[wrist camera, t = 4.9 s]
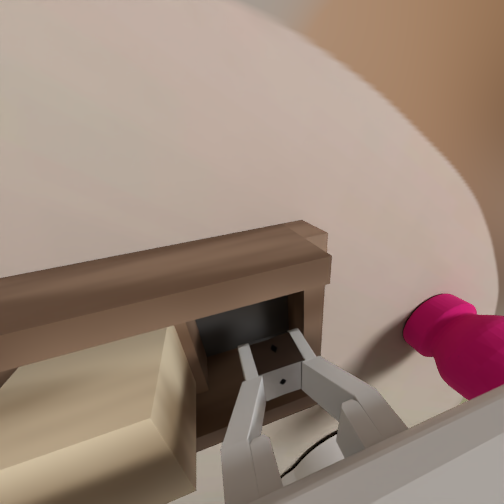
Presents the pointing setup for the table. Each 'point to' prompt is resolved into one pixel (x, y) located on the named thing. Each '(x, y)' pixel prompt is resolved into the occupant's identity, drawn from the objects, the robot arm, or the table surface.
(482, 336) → the pepper mill
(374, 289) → the table surface
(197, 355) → the tray
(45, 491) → the maple block
